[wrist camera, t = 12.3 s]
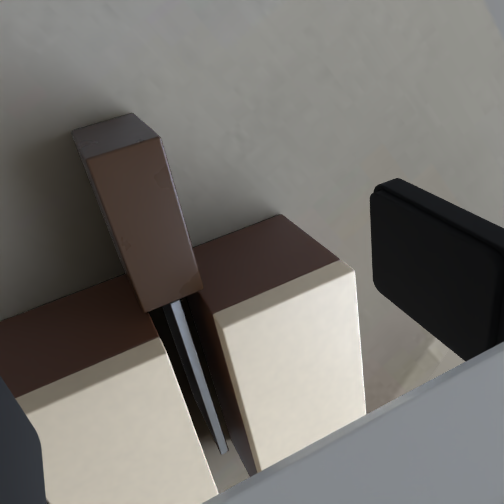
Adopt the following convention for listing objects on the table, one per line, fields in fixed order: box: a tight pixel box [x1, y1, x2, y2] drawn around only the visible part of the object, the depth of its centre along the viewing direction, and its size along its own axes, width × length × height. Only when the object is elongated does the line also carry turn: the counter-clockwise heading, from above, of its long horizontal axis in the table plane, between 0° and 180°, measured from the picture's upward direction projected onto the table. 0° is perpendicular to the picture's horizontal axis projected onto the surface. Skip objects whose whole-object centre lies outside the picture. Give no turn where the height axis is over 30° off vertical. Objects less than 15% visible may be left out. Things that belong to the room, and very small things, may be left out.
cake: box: [0, 214, 366, 504], centre depth 22 cm, size 13×13×6 cm
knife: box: [71, 113, 229, 454], centre depth 20 cm, size 15×2×4 cm, turn 11°
